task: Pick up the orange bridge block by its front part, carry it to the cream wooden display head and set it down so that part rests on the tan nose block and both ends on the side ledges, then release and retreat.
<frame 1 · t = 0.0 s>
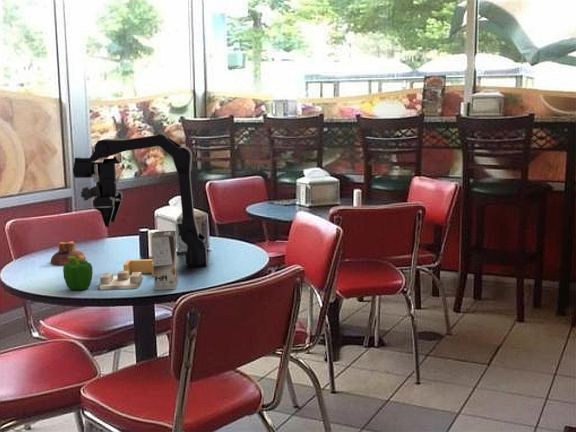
hand: (110, 224, 235), 15 cm above the table, fingers open, 9 cm apart
coffee box: (166, 286, 213), on the table
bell: (68, 262, 248), on the table
orange bridge block: (142, 272, 230), on the table
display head: (122, 283, 217), on the table
bell pepper: (79, 289, 212), on the table
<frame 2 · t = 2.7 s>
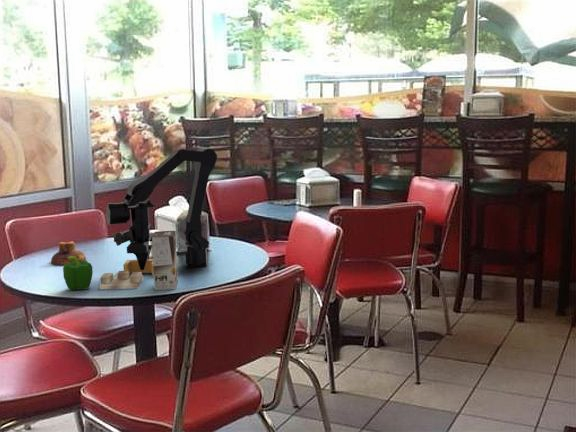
hand: (142, 269, 230), 1 cm above the table, fingers closed on orange bridge block, 2 cm apart
orange bridge block: (142, 272, 230), on the table, touching gripper
everything else where it was.
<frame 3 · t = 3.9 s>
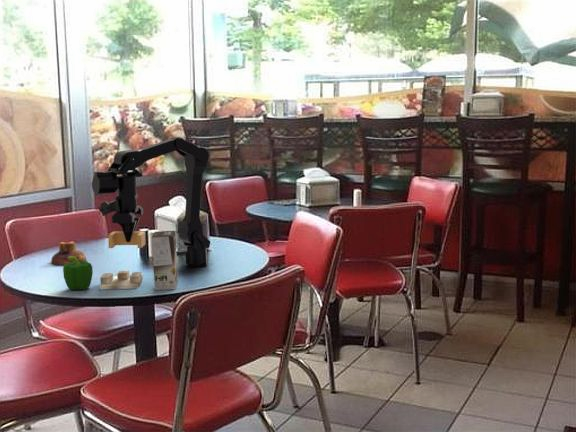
hand: (128, 241, 222), 12 cm above the table, fingers closed on orange bridge block
orange bridge block: (128, 244, 222), point 11 cm above the table, touching gripper
everything else where it was.
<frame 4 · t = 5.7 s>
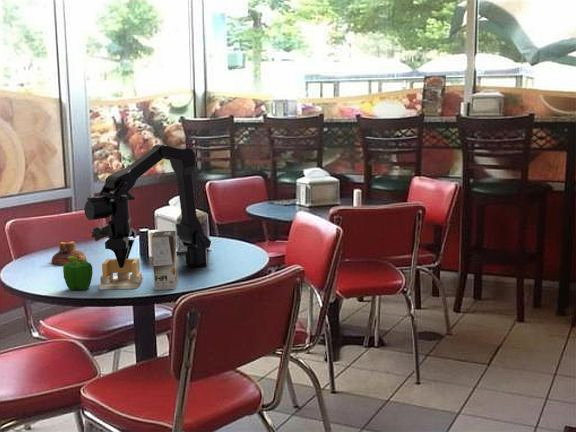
hand: (122, 265, 218), 5 cm above the table, fingers open, 5 cm apart
orange bridge block: (123, 272, 219), point 3 cm above the table, touching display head
everything else where it was.
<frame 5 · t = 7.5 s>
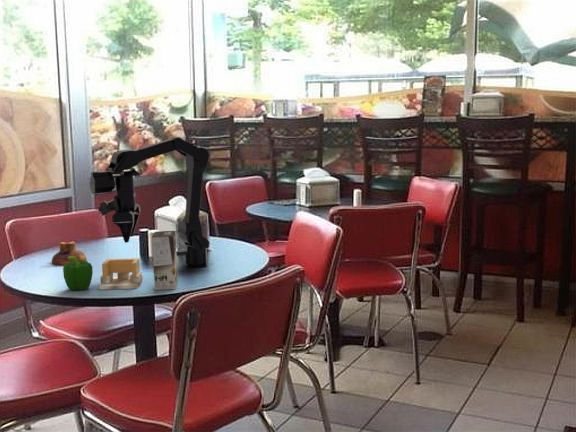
hand: (128, 239, 225), 12 cm above the table, fingers open, 9 cm apart
nothing on the table moved.
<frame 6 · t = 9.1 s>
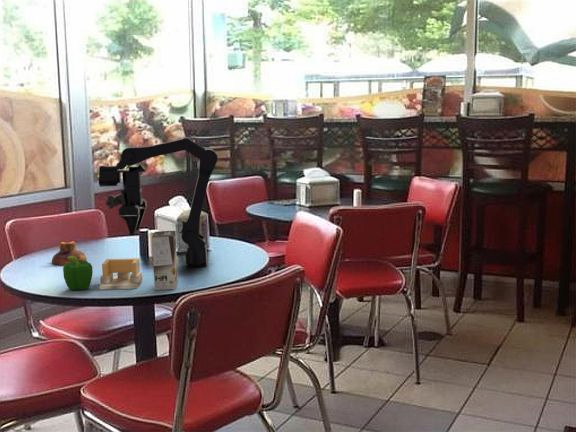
hand: (134, 232, 234), 12 cm above the table, fingers open, 9 cm apart
nothing on the table moved.
at the end: orange bridge block 0.1 cm from the target spot on the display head, point 3.0 cm above the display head's base; orange bridge block tilted 0°; the gripper is holding nothing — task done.
